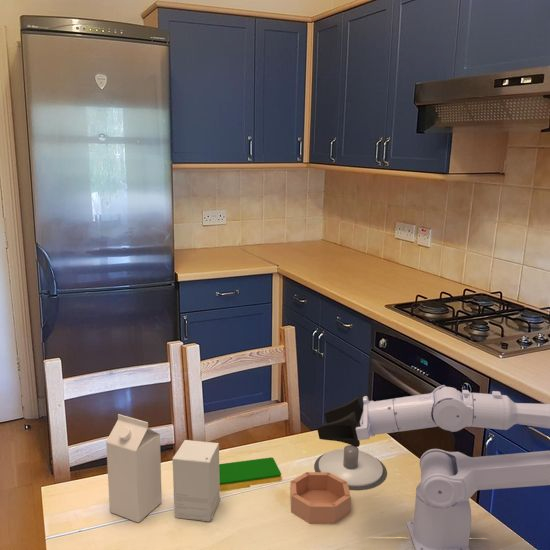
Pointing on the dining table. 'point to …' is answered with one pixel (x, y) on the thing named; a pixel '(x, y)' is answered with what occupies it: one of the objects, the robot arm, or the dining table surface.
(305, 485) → the bowl
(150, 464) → the milk carton
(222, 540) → the dining table surface
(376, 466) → the lid
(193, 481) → the supplement box
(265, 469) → the dish sponge
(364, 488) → the mat
